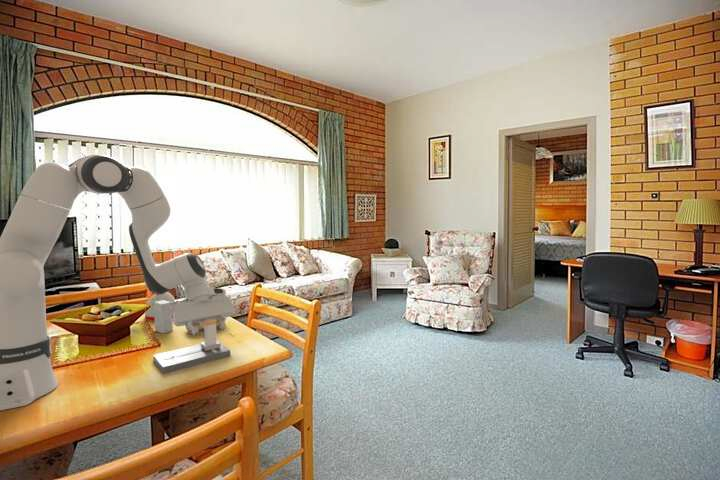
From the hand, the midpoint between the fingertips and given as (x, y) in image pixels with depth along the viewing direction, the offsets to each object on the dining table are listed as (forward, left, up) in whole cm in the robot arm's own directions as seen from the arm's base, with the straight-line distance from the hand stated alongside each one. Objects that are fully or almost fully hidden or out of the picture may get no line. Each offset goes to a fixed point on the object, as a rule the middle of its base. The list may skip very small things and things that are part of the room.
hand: (210, 330), depth 128 cm
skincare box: (-6, +35, -8) cm, 37 cm away
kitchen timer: (-1, +57, -9) cm, 58 cm away
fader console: (-6, 0, -8) cm, 10 cm away
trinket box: (+8, +28, -9) cm, 30 cm away
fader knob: (0, 0, -6) cm, 6 cm away
